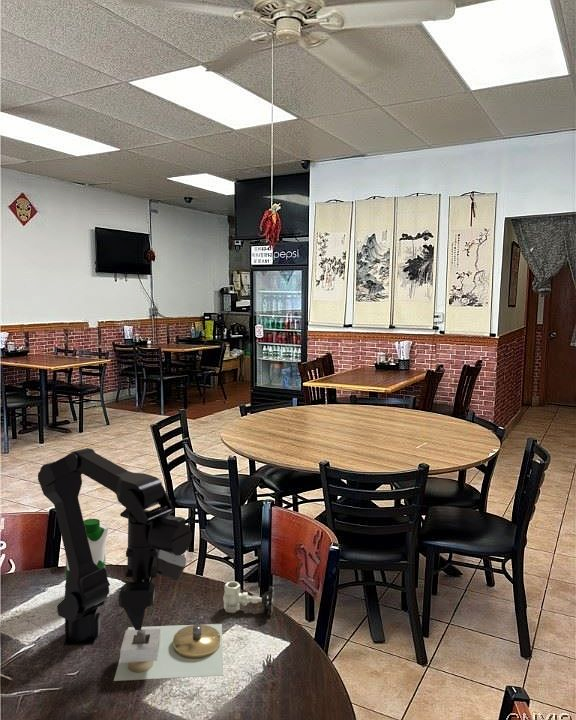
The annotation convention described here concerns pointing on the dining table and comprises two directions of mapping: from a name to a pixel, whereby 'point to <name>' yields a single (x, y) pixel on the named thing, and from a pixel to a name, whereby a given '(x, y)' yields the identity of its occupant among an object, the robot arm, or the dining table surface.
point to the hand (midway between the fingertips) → (141, 616)
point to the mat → (175, 659)
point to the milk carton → (95, 542)
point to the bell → (196, 641)
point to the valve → (245, 598)
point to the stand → (142, 665)
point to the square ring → (140, 646)
